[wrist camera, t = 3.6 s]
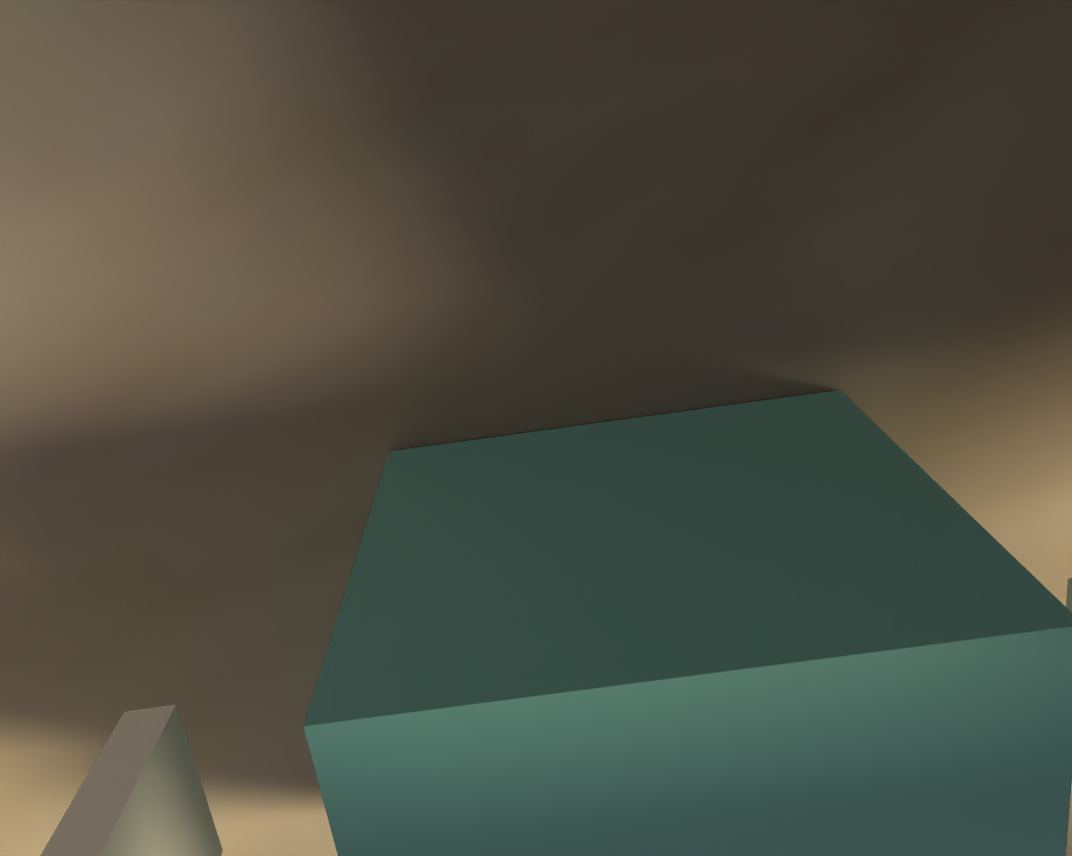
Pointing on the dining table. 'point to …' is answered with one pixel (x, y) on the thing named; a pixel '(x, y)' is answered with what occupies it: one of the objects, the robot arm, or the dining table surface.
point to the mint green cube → (690, 651)
